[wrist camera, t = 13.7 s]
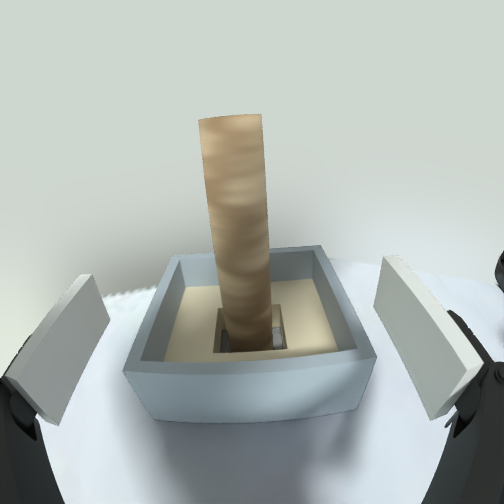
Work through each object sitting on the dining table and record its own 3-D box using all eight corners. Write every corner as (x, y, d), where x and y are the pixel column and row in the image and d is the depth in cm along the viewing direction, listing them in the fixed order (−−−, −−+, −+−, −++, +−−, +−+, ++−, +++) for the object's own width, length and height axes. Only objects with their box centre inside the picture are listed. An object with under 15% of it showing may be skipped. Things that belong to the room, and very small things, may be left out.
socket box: (317, 294, 32) (320, 245, 29) (356, 409, 18) (377, 357, 15) (184, 303, 32) (172, 255, 29) (153, 419, 18) (122, 370, 15)
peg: (271, 334, 27) (259, 115, 18) (274, 364, 23) (263, 113, 14) (231, 336, 27) (203, 120, 18) (229, 367, 23) (192, 119, 14)
